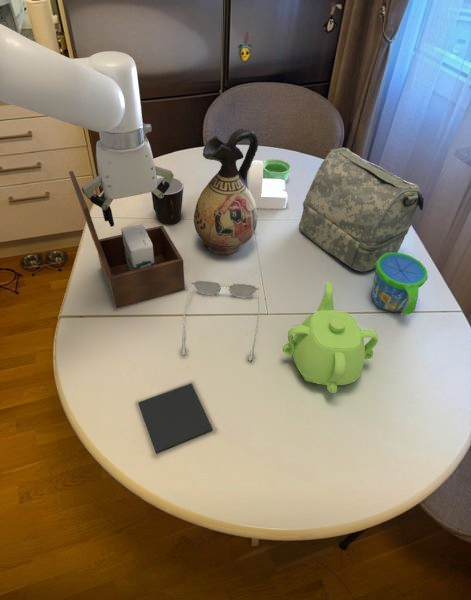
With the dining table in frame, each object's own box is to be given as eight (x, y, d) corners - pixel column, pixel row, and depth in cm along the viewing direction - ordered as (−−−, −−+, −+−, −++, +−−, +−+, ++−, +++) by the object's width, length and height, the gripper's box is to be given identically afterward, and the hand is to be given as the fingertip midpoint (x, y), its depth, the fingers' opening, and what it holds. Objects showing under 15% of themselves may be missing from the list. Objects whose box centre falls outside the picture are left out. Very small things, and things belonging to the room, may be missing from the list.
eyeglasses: (258, 297, 94) (260, 284, 91) (255, 362, 82) (257, 349, 79) (190, 291, 94) (190, 278, 92) (177, 355, 82) (176, 342, 79)
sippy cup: (421, 327, 91) (440, 294, 83) (373, 326, 90) (388, 293, 83) (399, 278, 101) (414, 245, 94) (357, 277, 101) (368, 244, 94)
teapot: (267, 351, 84) (274, 308, 75) (317, 321, 90) (329, 278, 81) (325, 410, 75) (340, 369, 66) (375, 372, 81) (396, 330, 72)
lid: (72, 170, 79) (68, 171, 79) (87, 207, 71) (83, 208, 71) (96, 237, 92) (92, 239, 91) (111, 276, 83) (107, 277, 83)
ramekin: (258, 171, 135) (259, 158, 132) (285, 171, 136) (287, 158, 133) (262, 186, 129) (264, 173, 126) (291, 185, 130) (293, 172, 127)
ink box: (126, 268, 98) (119, 226, 89) (147, 263, 99) (142, 221, 91) (136, 292, 92) (129, 250, 84) (158, 286, 94) (153, 244, 86)
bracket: (282, 190, 128) (287, 155, 119) (286, 209, 120) (292, 172, 112) (220, 188, 127) (221, 152, 118) (220, 207, 119) (221, 170, 111)
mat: (156, 453, 68) (155, 452, 67) (138, 404, 74) (138, 402, 73) (212, 430, 71) (212, 428, 71) (191, 384, 77) (191, 382, 77)
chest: (165, 254, 103) (162, 225, 97) (184, 289, 95) (183, 260, 89) (101, 270, 98) (94, 240, 92) (116, 309, 90) (109, 278, 83)
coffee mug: (158, 207, 118) (155, 175, 110) (188, 211, 117) (186, 179, 110) (146, 231, 109) (142, 198, 102) (178, 235, 109) (176, 202, 102)
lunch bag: (409, 259, 107) (444, 182, 92) (359, 283, 100) (388, 204, 84) (339, 209, 122) (359, 135, 106) (291, 227, 114) (305, 150, 99)
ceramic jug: (207, 270, 100) (208, 150, 79) (186, 233, 110) (181, 118, 88) (270, 254, 106) (287, 138, 84) (244, 221, 115) (253, 109, 94)
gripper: (162, 119, 77) (169, 199, 90) (66, 133, 72) (87, 216, 84) (176, 136, 73) (181, 218, 85) (74, 152, 67) (95, 237, 79)
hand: (134, 217), depth 84 cm, fingers open, 9 cm apart
